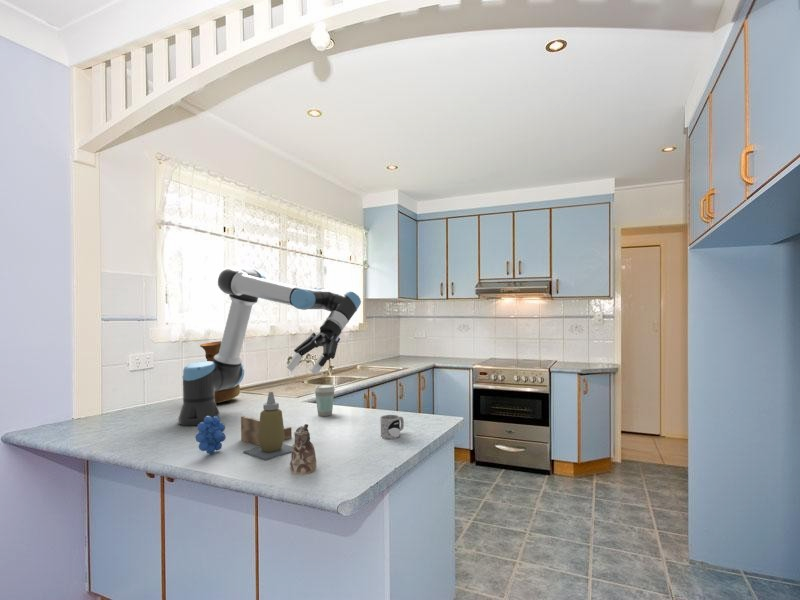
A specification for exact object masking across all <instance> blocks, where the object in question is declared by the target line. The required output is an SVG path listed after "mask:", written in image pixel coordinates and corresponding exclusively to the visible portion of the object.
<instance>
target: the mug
mask: <svg viewBox="0 0 800 600" xmlns="http://www.w3.org/2000/svg"><path fill="white" fill-rule="evenodd" d="M404 427H405V422H404V417H402V416H400V415H398V414H397V415H396V414H386V415H385V414H384V415H382V416H380V438H381V437H382V439H383V438H385V439H384V440H395V439H394V438H396V439H398V437H399V438H400V437H401V432H402V430H404Z"/></svg>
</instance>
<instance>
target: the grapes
mask: <svg viewBox="0 0 800 600" xmlns="http://www.w3.org/2000/svg"><path fill="white" fill-rule="evenodd" d="M196 426H197V431H198V432H197V433H196V434H195V438H194V439H195V440H196V442H198V443H199V444H198V448H199V450H200V451H201V452H206V453H207V454H208V455H213V454H214V453H215V452H216V451H220V450H221V449H222V446H223V445H222V443H223V442H224V441H225V440H226V439H227V436H226V434H225V432H224V431H225V429H226V426H225V424H224V423H222V422H221V419H220V417H219V418H218V417H217V416H214V417H213V418H212V417H210V416H206V417H205V418H204V422H201V423H199V424H198V425H196Z"/></svg>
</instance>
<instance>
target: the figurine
mask: <svg viewBox="0 0 800 600" xmlns="http://www.w3.org/2000/svg"><path fill="white" fill-rule="evenodd" d="M308 428H309V424H306V423H305V424H304V426H299V427H298V428H297V429H296V430H295V431H294V434H293V435H294V444H292V445H291V446H292V447H293V448H292V452H291V455H290V462H289V468H290V469H289V470H290V472H291V474H292V473H293V474H292V475H297V474H301V475H308V474H309V475H310V474H312V473H314V472H315V471H316V469H317V457H316V450H315V446H314V444H313V443H312V442H311V437H310V436H311V434H310V432H309V429H308Z"/></svg>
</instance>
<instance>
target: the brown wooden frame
mask: <svg viewBox="0 0 800 600" xmlns="http://www.w3.org/2000/svg"><path fill="white" fill-rule="evenodd" d="M259 424H260V419H258V418H257V419H256V418H253V417H249V416H246V415H240V433H241V435H240V439H241V441H242V442H243V441H244V442H247V443H250V444H253V445H255V444H256V445H255V446H258V447H259V446H260V443H259V440H258V434H259ZM292 429H293V428H292V427H291V426H289V427H285V428H284V435H285V438H284V441H285V440H287V439H288V440H289V439H292V437H293V436H292V435H293V434H292V433H293V432H292Z"/></svg>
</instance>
